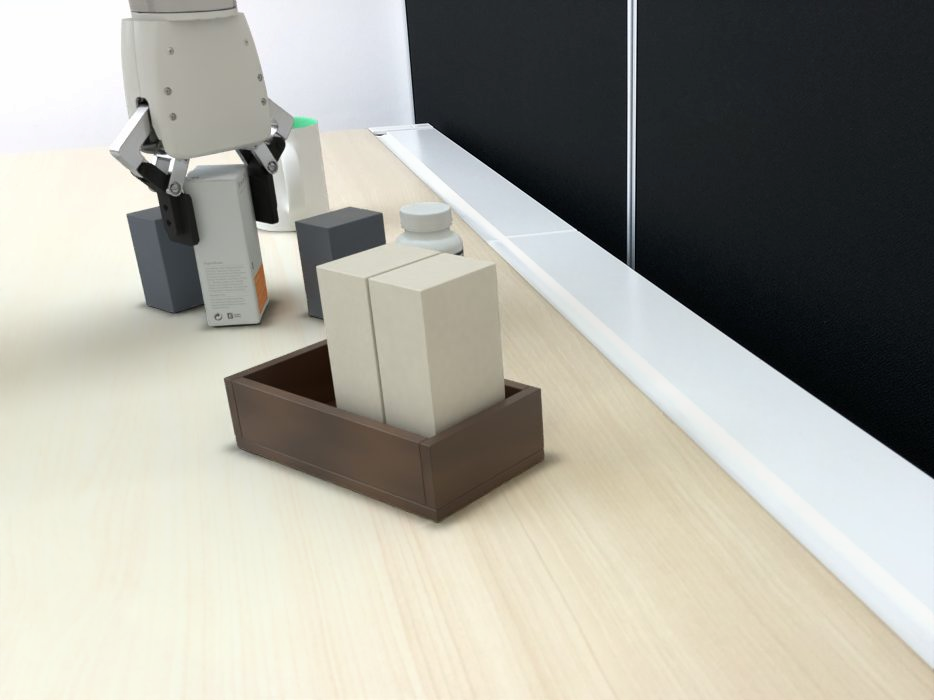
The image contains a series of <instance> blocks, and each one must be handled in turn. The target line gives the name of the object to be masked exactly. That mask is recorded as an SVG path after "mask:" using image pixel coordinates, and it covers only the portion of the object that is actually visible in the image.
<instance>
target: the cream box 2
mask: <svg viewBox="0 0 934 700" xmlns="http://www.w3.org/2000/svg"><path fill="white" fill-rule="evenodd" d="M497 274H498V273H497V263H495V262H491V261H487V260H482V259H476V258H472V257H467V256H464V257H463V256H458V255H453V254H449V253H442V254H439V255H436V256H433V257H430V258H427V259H424V260H421V261H418V262H415V263H412V264H409V265H407V266H404V267H401V268H398V269H395V270H392V271H389V272H386V273H383V274H380V275H377V276H374V277H371V278H369V279H368V281H369V289H370V297H371V305H372V313H373V321H374V328H375V336H376V344H377V352H378V360H379V368H380V376H381V384H382V392H383V400H384V407H385V415H386V423H387V424H388V425H391V426H394V427H397V428H400V429H403V430H406V431H409V432H412V433H415V434H418V435H421V436H424V437H427V438H430V437H432V436H434V435H436V434H438V433H440V432H442V431H444V430H446V429H448V428H450V427H452V426H454V425H456V424H458V423H460V422H462V421H464V420H466V419H468V418H469V417H471V416H473V415H475V414H477V413H479V412H481V411H483V410H485V409H487V408H489V407H491V406H493V405H495V404H497V403H499V402H501V401H503V400H505V386H504V379H505V374H504V360H503V346H502V332H501V331H502V330H501V317H500V303H499V290H498V289H499V288H498V287H499V286H498V275H497Z"/></svg>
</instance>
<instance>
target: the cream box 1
mask: <svg viewBox="0 0 934 700" xmlns="http://www.w3.org/2000/svg"><path fill="white" fill-rule="evenodd" d="M439 254H441V252H439V251H434V250H429V249H424V248H419V247H415V246H410V245H405V244H400V243H395V241H391V242H389V243H386V244H385V245H382V246H379V247H375V248H372V249H369V250H366V251H363V252H360V253H356V254H353V255H350V256H347V257H344V258H341V259H338V260H334V261H331V262H328V263H325V264H322V265H319V266H316V270H317V277H318V283H319V290H320V297H321V304H322V310H323V317H324V319H323V323H324V329H325V338H326V339H327V344H328V351H329V357H330V364H331V371H332V378H333V384H334V391H335V398H336V405H337V408H339V409H342V410H345V411H348V412H351V413H354V414H357V415H360V416H363V417H366V418H369V419H372V420H375V421H378V422H382V423H385V424H387V423H386V415H385V407H384V400H383V392H382V384H381V376H380V368H379V360H378V352H377V344H376V336H375V328H374V321H373V313H372V305H371V297H370V289H369V281H368V279H369V278H371V277H374V276H377V275H380V274H383V273H386V272H389V271H392V270H395V269H398V268H401V267H404V266H407V265H409V264H412V263H415V262H418V261H421V260H424V259H427V258H430V257H433V256H436V255H439Z"/></svg>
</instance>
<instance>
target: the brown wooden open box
mask: <svg viewBox="0 0 934 700" xmlns="http://www.w3.org/2000/svg"><path fill="white" fill-rule="evenodd" d="M223 383H224V387H225V392H226V397H227V398H226V399H227V402H228V408H229V413H230V417H231V423H232V428H233V432H234V436H235V442H236V447H237V448H240V449H241V450H243V451H247V452H249V453H252V454H255V455H258V456H260V457H263V458H266V459H268V460H271V461H273V462H276V463H279V464H281V465H284V466H287V467H290V468H292V469H295V470H298V471H300V472H303V473H305V474H308V475H311V476H313V477H316V478H319V479H321V480H323V481H327V482H329V483H332V484H334V485H337V486H340V487H342V488H345V489H348V490H351V491H353V492H356V493H358V494H361V495H363V496H366V497H369V498H371V499H374V500H377V501H380V502H382V503H385V504H388V505H390V506H393V507H396V508H398V509H401V510H403V511H406V512H409V513H411V514H414V515H417V516H420V517H421V518H424V519H427V520H429V521H432V522H435V523H439V522H442V521H443V520H445V519H446V518H448V517H450V516H452V515H453V514H455V513H457V512H458V511H460V510H461V509H463V508H465V507H467V506H468V505H470V504H471V503H473V502H475V501H476V500H478V499H480V498H482V497H483V496H485V495H487V494H488V493H491V492H492V491H493V490H495V489H497V488H498V487H501V486H502V485H504V484H505V483H507V482H508V481H510V480H513V478H515V477H517V476H519V475H520V474H522V473H524V472H526V471H527V470H528V469H531V468H532V467H534V466H535V465H537V464H539V463H540V462H542V461H544V460H545V459H546V458H545V457H546V456H545V438H544V418H543V401H542V400H543V399H542V389H541V388H540V387H537V386H533V385H529V384H526V383H521V382H519V381H515V380H511V379H508V378H504V386H505V400H503V401H501V402H499V403H497V404H495V405H493V406H491V407H489V408H487V409H485V410H483V411H481V412H479V413H477V414H475V415H473V416H471V417H469V418H468V419H466V420H464V421H462V422H460V423H458V424H456V425H454V426H452V427H450V428H448V429H446V430H444V431H442V432H440V433H438V434H436V435H434V436H432V437H430V438H427V437H424V436H421V435H418V434H415V433H412V432H409V431H406V430H403V429H400V428H397V427H394V426H391V425H388V424H385V423H382V422H378V421H375V420H372V419H369V418H366V417H363V416H360V415H357V414H354V413H351V412H348V411H345V410H342V409H339V408H337V405H336V398H335V391H334V384H333V378H332V371H331V364H330V357H329V351H328V344H327V338H325V339H322V340H319V341H317V342H315V343H312V344H309V345H307V346H305V347H302V348H298V349H296V350H294V351H291V352H288V353H286V354H283V355H280V356H278V357H276V358H273V359H270V360H267V361H264V362H262V363H260V364H256V365H254V366H252V367H249V368H247V369H244V370H241V371H238V372H235V373H234V374H231V375H227V376H225V377H223Z"/></svg>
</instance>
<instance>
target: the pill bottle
mask: <svg viewBox="0 0 934 700" xmlns="http://www.w3.org/2000/svg"><path fill="white" fill-rule="evenodd" d="M399 219H400V220H399V221H400V227H401V229H403V230H404V232H402V233H401V234H399V235H398V236H397V237H396V239H395V241H394V242H395V243H400V244H405V245H410V246H415V247H419V248H424V249H429V250H434V251H439V252H441V254H442V253H449V254H453V255H458V256H463V257H465V254H464V253H465V251H464V243H463V242H464V241H463V239H462V237H461V235H460V234H459V233H458V232H456V231H454V230H452V229H451V226H452V225H453V213H452V207H451V205H450V204H448V203H446V202H439V201H422V202H421V201H419V202H414V203H408V204H405V205H403V206H401V207H400V208H399Z"/></svg>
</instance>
